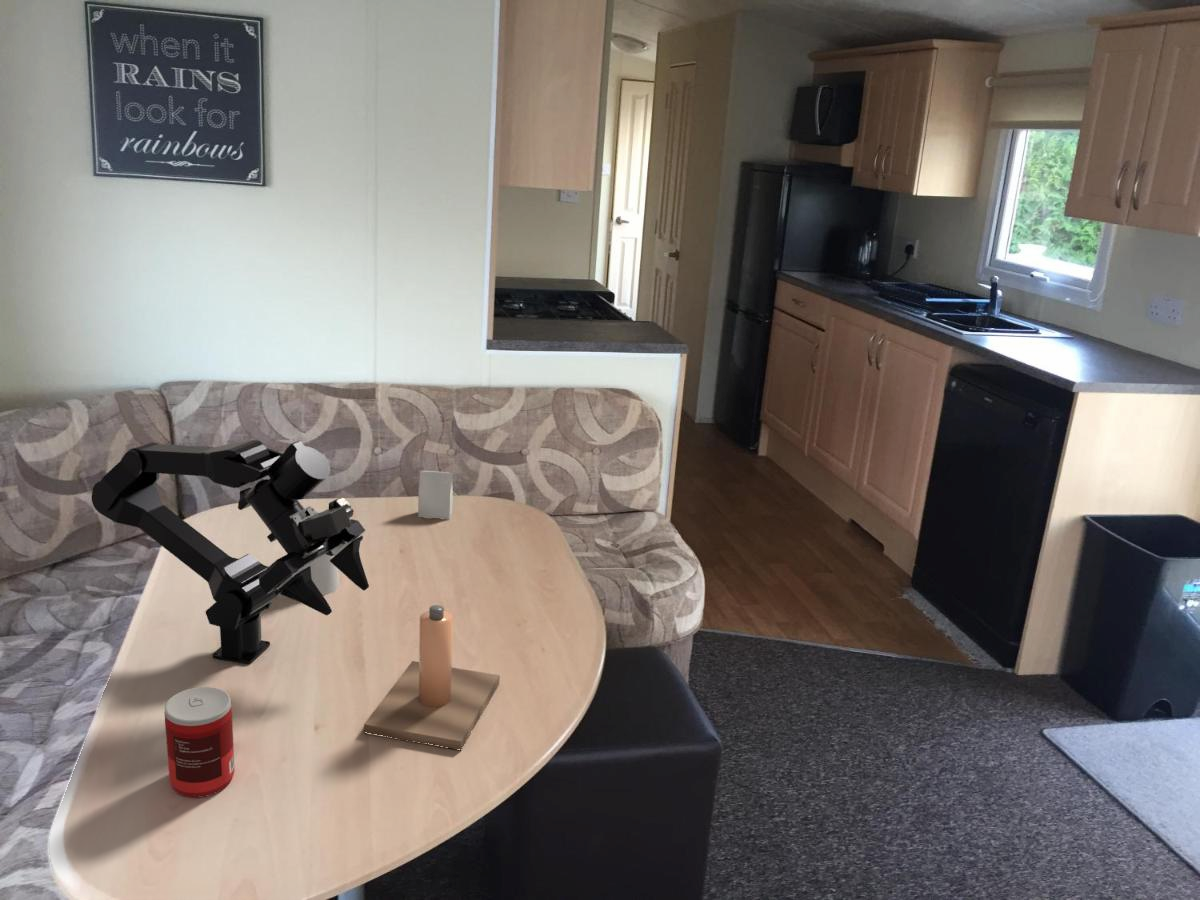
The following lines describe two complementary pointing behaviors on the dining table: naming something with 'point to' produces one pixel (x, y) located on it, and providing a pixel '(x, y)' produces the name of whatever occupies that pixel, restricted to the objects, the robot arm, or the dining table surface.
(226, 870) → the dining table surface
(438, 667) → the peach bottle with cap
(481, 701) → the cardboard sheet
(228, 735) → the canned food
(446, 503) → the light grey box
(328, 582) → the white cylinder
